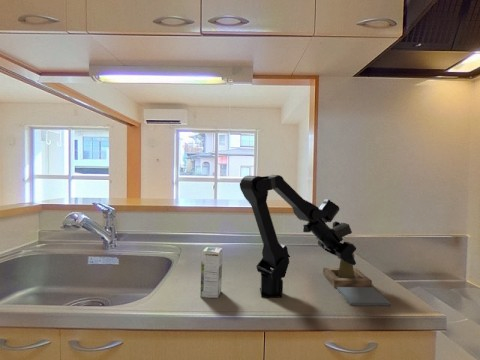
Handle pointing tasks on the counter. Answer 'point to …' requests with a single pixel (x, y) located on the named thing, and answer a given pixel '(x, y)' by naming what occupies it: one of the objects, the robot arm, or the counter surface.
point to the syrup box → (211, 272)
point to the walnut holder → (357, 281)
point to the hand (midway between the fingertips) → (350, 261)
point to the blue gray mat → (362, 296)
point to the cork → (346, 269)
